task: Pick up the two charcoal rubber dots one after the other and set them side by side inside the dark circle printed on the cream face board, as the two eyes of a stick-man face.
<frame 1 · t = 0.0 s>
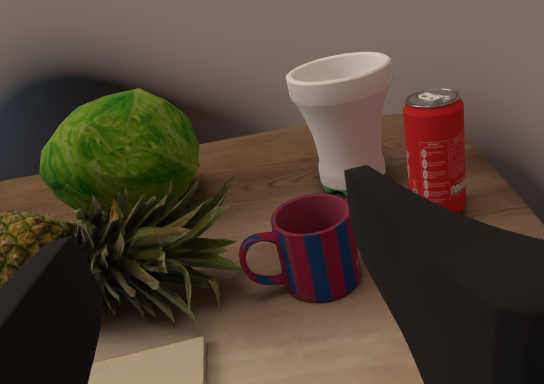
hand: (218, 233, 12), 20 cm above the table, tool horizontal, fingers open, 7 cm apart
beverage can: (438, 212, 48), on the table
cup 2: (353, 184, 57), on the table
cup: (305, 284, 42), on the table
fruit: (104, 312, 45), on the table
lettuce: (142, 210, 62), on the table
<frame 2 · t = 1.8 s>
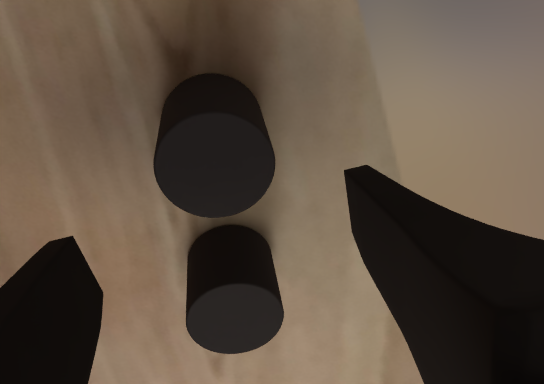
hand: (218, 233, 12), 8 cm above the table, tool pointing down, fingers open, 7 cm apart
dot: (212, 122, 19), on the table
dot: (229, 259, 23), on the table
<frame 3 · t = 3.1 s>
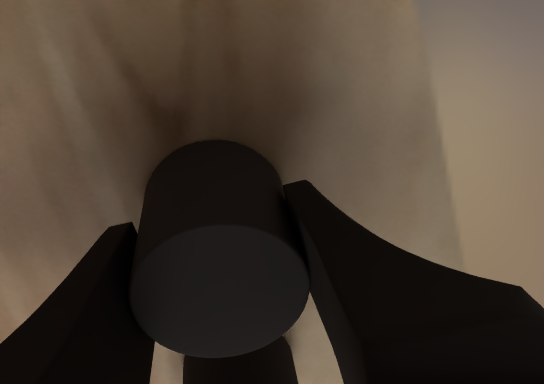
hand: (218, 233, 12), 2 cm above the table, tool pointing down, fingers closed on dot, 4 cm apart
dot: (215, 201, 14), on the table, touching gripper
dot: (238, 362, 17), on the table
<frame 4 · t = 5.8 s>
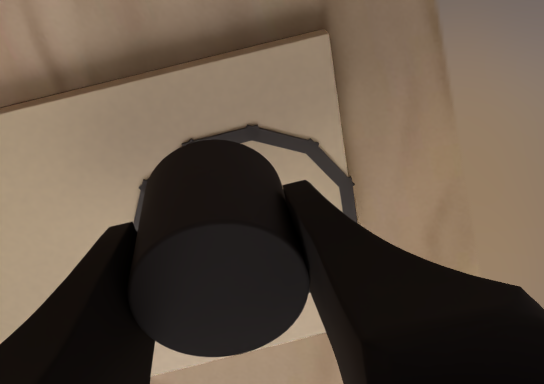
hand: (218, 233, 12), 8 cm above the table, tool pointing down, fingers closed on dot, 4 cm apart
face board: (145, 247, 23), on the table
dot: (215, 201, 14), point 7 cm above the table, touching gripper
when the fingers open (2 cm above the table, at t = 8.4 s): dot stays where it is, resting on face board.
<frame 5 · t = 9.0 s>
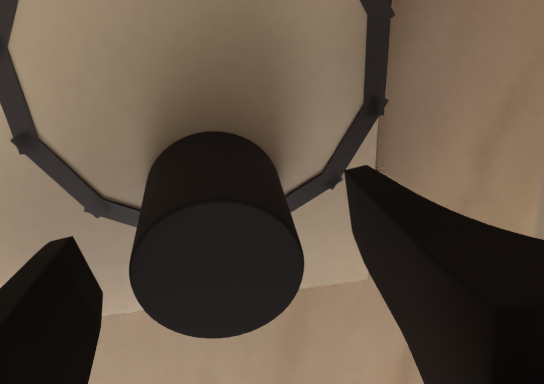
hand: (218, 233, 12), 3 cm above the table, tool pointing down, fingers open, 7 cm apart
face board: (14, 86, 13), on the table
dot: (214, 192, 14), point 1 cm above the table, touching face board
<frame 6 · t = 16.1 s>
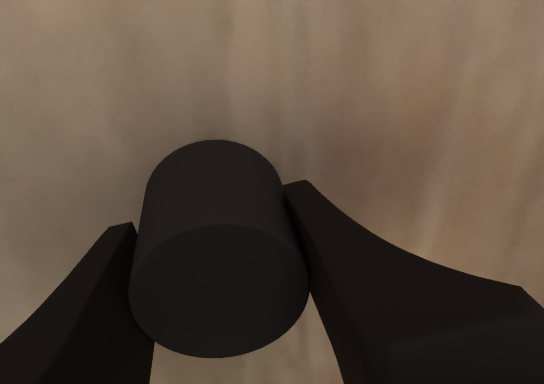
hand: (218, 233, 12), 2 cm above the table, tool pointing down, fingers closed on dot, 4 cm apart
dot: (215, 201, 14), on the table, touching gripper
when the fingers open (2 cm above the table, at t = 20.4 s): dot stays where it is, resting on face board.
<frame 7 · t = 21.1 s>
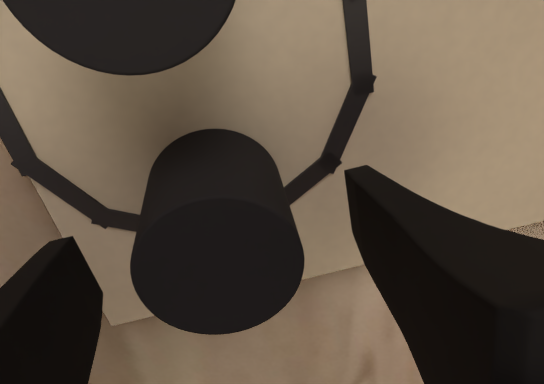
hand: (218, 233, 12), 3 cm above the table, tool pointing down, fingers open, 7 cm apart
face board: (356, 29, 13), on the table
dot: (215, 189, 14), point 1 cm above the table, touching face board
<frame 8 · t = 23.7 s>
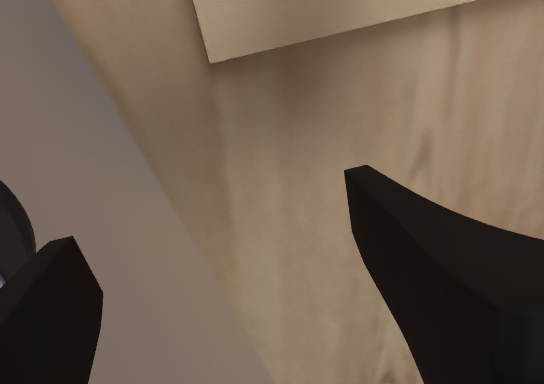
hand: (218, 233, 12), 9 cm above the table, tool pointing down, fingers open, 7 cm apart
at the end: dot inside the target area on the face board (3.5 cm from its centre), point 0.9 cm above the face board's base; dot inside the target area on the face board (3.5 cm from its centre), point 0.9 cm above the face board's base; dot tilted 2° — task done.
